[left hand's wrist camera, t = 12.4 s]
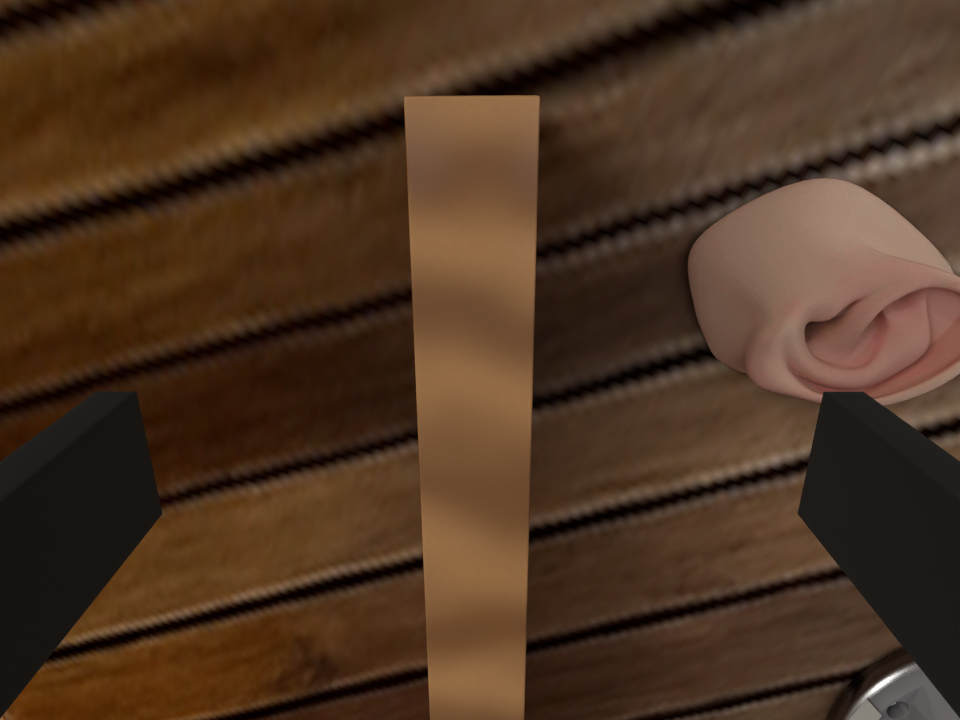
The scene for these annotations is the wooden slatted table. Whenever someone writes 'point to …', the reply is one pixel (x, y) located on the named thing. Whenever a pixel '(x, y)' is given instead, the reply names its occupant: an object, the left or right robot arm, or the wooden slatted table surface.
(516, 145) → the post
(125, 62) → the wooden slatted table surface
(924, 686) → the right robot arm
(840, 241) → the anatomical model
